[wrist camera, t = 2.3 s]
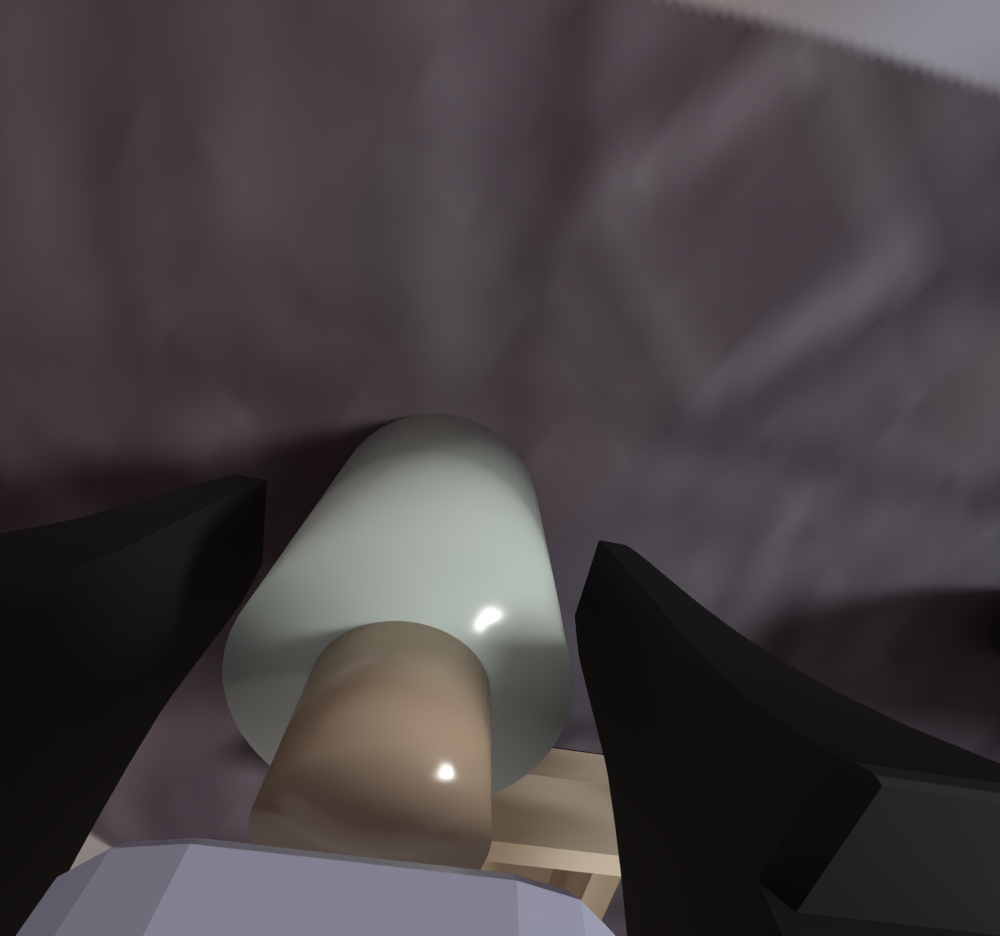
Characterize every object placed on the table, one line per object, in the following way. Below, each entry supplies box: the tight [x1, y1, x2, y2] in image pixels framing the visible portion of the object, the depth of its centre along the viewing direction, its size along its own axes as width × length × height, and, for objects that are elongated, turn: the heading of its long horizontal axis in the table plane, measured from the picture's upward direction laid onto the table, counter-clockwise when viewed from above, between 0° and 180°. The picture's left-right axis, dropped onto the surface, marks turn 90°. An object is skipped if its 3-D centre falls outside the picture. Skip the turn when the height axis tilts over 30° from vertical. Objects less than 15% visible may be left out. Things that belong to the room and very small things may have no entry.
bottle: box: [222, 414, 574, 870], centre depth 9 cm, size 5×5×8 cm
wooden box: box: [480, 748, 621, 920], centre depth 16 cm, size 8×8×3 cm
